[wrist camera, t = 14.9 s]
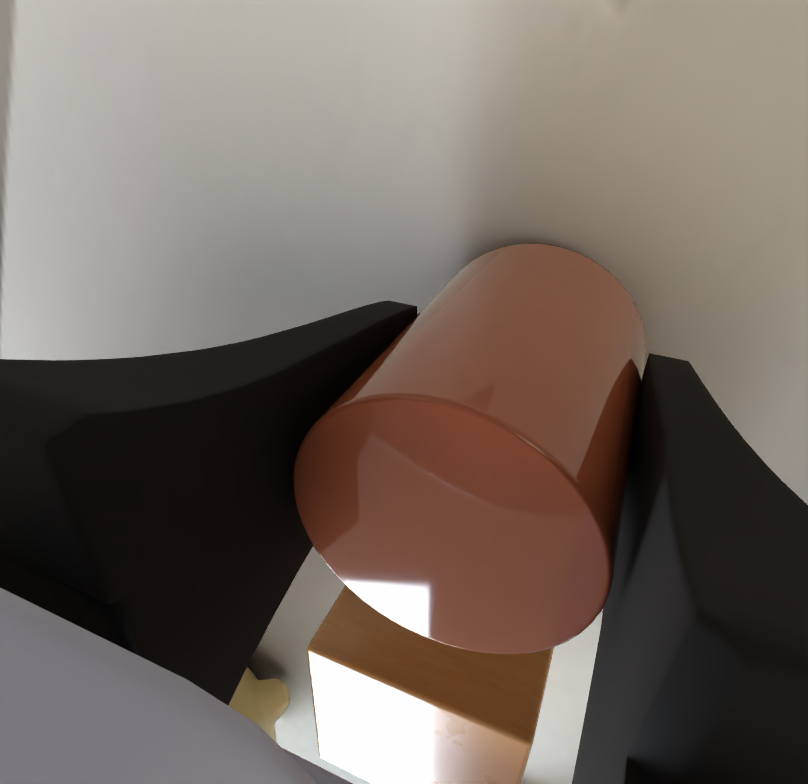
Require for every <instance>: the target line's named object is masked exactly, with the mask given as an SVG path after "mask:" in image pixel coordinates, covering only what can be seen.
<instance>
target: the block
mask: <svg viewBox="0 0 808 784" xmlns="http://www.w3.org/2000/svg"><path fill="white" fill-rule="evenodd" d="M553 650H554V647H552V648H549V649H545V650H541V651H537V652H532V653H524V654H490V653H480V652H475V651H469V650H464V649H460V648H456V647H453V646H449V645H445V644H442V643H440V642H437V641H434V640H431V639H428V638H426V637H424V636H421V635H419V634H417V633H415V632H412V631H410V630H408V629H406V628H405V627H403V626H401V625H399V624H397V623H395V622H393V621H392V620H390V619H389V618H387V617H385V616H384V615H382V614H381V613H379V612H378V611H376V610H375V609H374V608H372V607H371V606H369V605H368V604H367V603H365V602H364V601H363V600H362V599H360V598H359V597H358V596H357V595H356V594H355V593H353V592H352V591H351V590H350V589H349V588H348V587H347V586H346V585H345V587H344V588H343V590H342V592H341V593H340V595H339V597H338V598H337V600H336V601H335V603H334V605H333V606H332V608H331V609H330V611H329V613H328V614H327V616H326V617H325V619H324V621H323V622H322V624H321V625H320V627H319V629H318V630H317V632H316V634H315V635H314V637H313V638H312V640H311V642H310V643H309V645H308V647H307V653H308V662H309V670H310V679H311V687H312V696H313V704H314V713H315V721H316V730H317V738H318V747H319V755H320V757H321V758H322V759H324V760H326V761H328V762H330V763H332V764H334V765H336V766H338V767H340V768H342V769H344V770H346V771H348V772H350V773H352V774H354V775H356V776H358V777H360V778H362V779H364V780H366V781H368V782H370V783H372V784H521V781H522V777H523V774H524V771H525V767H526V764H527V760H528V757H529V754H530V750H531V747H532V744H533V739H534V735H535V730H536V726H537V721H538V717H539V712H540V708H541V703H542V699H543V694H544V690H545V686H546V681H547V677H548V672H549V668H550V663H551V659H552V654H553Z"/></svg>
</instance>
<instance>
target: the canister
mask: <svg viewBox="0 0 808 784" xmlns="http://www.w3.org/2000/svg"><path fill="white" fill-rule="evenodd" d="M645 348H646V343H645V333H644V328H643V324H642V321H641V317H640V315H639V312H638V310H637V308H636V306H635V303H634V302H633V300H632V299H631V297H630V295H629V294H628V292H627V291H626V290H625V288H624V287H623V286H622V285H621V284H620V282H619V281H618V280H617V279H616V278H615V277H614V276H613V275H611V274H610V273H609V272H608V271H607V270H606V269H604V268H603V267H602V266H600V265H599V264H597V263H596V262H594V261H593V260H591V259H589V258H587V257H585V256H583V255H581V254H579V253H576V252H574V251H571V250H568V249H565V248H561V247H557V246H552V245H545V244H517V245H511V246H506V247H502V248H499V249H496V250H492V251H490V252H488V253H486V254H484V255H481V256H479V257H478V258H476V259H475V260H473V261H472V262H470V263H468V264H467V265H466V266H465V267H464V268H463V269H461V270H460V271H459V272H458V273H457V274H456V275H455V276H454V277H453V278H452V279H451V280H450V281H449V282H448V283H447V285H446V286H445V287H444V288H443V289H442V290H441V291H440V292H439V293H438V294H437V295H436V296H435V297H434V298H433V299H432V300H431V301H430V302H429V303H428V304H427V306H426V307H425V308H424V309H423V310H422V311H421V312H420V313H419V314H418V315H417V316H416V317H415V318H414V319H413V320H412V321H411V322H410V323H409V324H408V325H407V326H406V328H405V329H404V330H403V331H402V332H401V333H400V334H399V335H398V336H397V337H396V338H395V339H394V340H393V341H392V342H391V343H390V344H389V345H388V346H387V347H386V349H385V350H384V351H383V352H382V353H381V354H380V355H379V356H378V357H377V358H376V359H375V360H374V361H373V362H372V363H371V364H370V365H369V366H368V367H367V368H366V369H365V371H364V372H363V373H362V374H361V375H360V376H359V377H358V378H357V379H356V380H355V381H354V382H353V383H352V384H351V385H350V386H349V387H348V388H347V389H346V390H345V392H344V393H343V394H342V395H341V396H340V397H339V398H338V399H337V400H336V401H335V402H334V403H333V404H332V405H331V406H330V407H329V408H328V409H327V410H326V411H325V412H324V414H323V415H322V416H321V417H320V418H319V419H318V420H317V421H316V422H315V423H314V424H313V426H312V427H311V428H310V429H309V431H308V432H307V433H306V435H305V437H304V439H303V441H302V442H301V444H300V447H299V450H298V453H297V456H296V459H295V465H294V473H293V491H294V497H295V502H296V507H297V510H298V513H299V516H300V519H301V522H302V524H303V526H304V529H305V531H306V533H307V535H308V537H309V539H310V540H311V542H312V544H313V546H314V547H315V549H316V551H317V552H318V553H319V555H320V556H321V558H322V559H323V560H324V562H325V563H326V564H327V566H328V567H329V568H330V569H331V570H332V571H333V573H334V574H335V575H336V576H337V577H338V578H339V579H340V580H341V581H342V582H343V583H344V584H345V585H346V586H347V587H348V588H349V589H350V590H351V591H352V592H353V593H355V594H356V595H357V596H358V597H359V598H360V599H362V600H363V601H364V602H365V603H367V604H368V605H369V606H371V607H372V608H374V609H375V610H376V611H378V612H379V613H381V614H382V615H384V616H385V617H387V618H389V619H390V620H392V621H393V622H395V623H397V624H399V625H401V626H403V627H405V628H406V629H408V630H410V631H412V632H415V633H417V634H419V635H421V636H424V637H426V638H428V639H431V640H434V641H437V642H440V643H442V644H445V645H449V646H453V647H456V648H460V649H464V650H469V651H475V652H480V653H490V654H524V653H532V652H537V651H541V650H545V649H549V648H552V647H555V646H557V645H560V644H562V643H565V642H567V641H569V640H570V639H572V638H573V637H575V636H577V635H578V634H580V633H581V632H582V631H583V630H584V629H586V628H587V627H588V626H589V625H590V624H591V623H592V622H593V621H594V619H595V618H596V617H597V615H598V614H599V613H600V612H601V610H602V609H603V607H604V605H605V603H606V601H607V598H608V596H609V594H610V590H611V586H612V581H613V577H614V570H615V563H616V556H617V549H618V542H619V535H620V528H621V521H622V514H623V507H624V500H625V493H626V486H627V479H628V472H629V465H630V459H631V452H632V445H633V438H634V431H635V421H636V412H637V405H638V398H639V391H640V384H641V380H642V375H643V368H644V361H645Z"/></svg>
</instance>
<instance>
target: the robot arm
mask: <svg viewBox="0 0 808 784" xmlns="http://www.w3.org/2000/svg"><path fill="white" fill-rule="evenodd" d="M416 316H417V306H412V305H407V304H402V303H397V302H392V301H383V302H378V303H374V304H370V305H366V306H363V307H359V308H356V309H353V310H350V311H347V312H343V313H340V314H337V315H334V316H331V317H328V318H325V319H322V320H319V321H315V322H312V323H309V324H306V325H302V326H299V327H295V328H292V329H288V330H285V331H281V332H278V333H274V334H271V335H267V336H263V337H260V338H256V339H251V340H247V341H243V342H238V343H234V344H228V345H223V346H218V347H212V348H207V349H201V350H195V351H186V352H178V353H170V354H161V355H153V356H144V357H133V358H117V359H98V360H58V361H52V360H3V359H0V784H352V783H350V782H348V781H346V780H344V779H342V778H340V777H338V776H336V775H334V774H332V773H330V772H329V771H327V770H325V769H323V768H321V767H319V766H317V765H315V764H313V763H311V762H309V761H307V760H305V759H303V758H301V757H299V756H297V755H295V754H293V753H291V752H289V751H287V750H285V749H283V748H281V747H280V746H279V745H278V744H277V743H276V742H275V741H274V740H273V739H272V738H271V737H270V736H269V735H268V734H267V733H266V732H265V731H264V730H263V729H262V728H261V727H260V726H259V725H257V724H256V723H254V722H253V721H251V720H249V719H248V718H246V717H245V716H243V715H242V714H240V713H239V712H237V711H235V710H234V709H232V708H231V707H229V706H228V705H229V703H230V701H231V699H232V697H233V695H234V693H235V691H236V689H237V687H238V685H239V683H240V680H241V678H242V676H243V674H244V672H245V670H246V668H247V666H248V664H249V662H250V660H251V658H252V656H253V654H254V652H255V650H256V649H257V647H258V645H259V643H260V641H261V639H262V637H263V635H264V633H265V631H266V629H267V627H268V625H269V623H270V621H271V620H272V618H273V616H274V614H275V612H276V610H277V608H278V606H279V605H280V603H281V601H282V599H283V597H284V596H285V594H286V592H287V590H288V588H289V587H290V585H291V583H292V581H293V579H294V578H295V576H296V574H297V572H298V570H299V569H300V567H301V565H302V564H303V562H304V560H305V558H306V557H307V555H308V553H309V552H310V550H311V548H312V547H313V544H312V542H311V540H310V539H309V537H308V535H307V533H306V531H305V529H304V526H303V524H302V522H301V519H300V516H299V513H298V510H297V507H296V502H295V497H294V491H293V473H294V465H295V459H296V456H297V453H298V450H299V447H300V444H301V442H302V441H303V439H304V437H305V435H306V433H307V432H308V431H309V429H310V428H311V427H312V426H313V424H314V423H315V422H316V421H317V420H318V419H319V418H320V417H321V416H322V415H323V414H324V412H325V411H326V410H327V409H328V408H329V407H330V406H331V405H332V404H333V403H334V402H335V401H336V400H337V399H338V398H339V397H340V396H341V395H342V394H343V393H344V392H345V390H346V389H347V388H348V387H349V386H350V385H351V384H352V383H353V382H354V381H355V380H356V379H357V378H358V377H359V376H360V375H361V374H362V373H363V372H364V371H365V369H366V368H367V367H368V366H369V365H370V364H371V363H372V362H373V361H374V360H375V359H376V358H377V357H378V356H379V355H380V354H381V353H382V352H383V351H384V350H385V349H386V347H387V346H388V345H389V344H390V343H391V342H392V341H393V340H394V339H395V338H396V337H397V336H398V335H399V334H400V333H401V332H402V331H403V330H404V329H405V328H406V326H407V325H408V324H409V323H410V322H411V321H412V320H413V319H414V318H415V317H416ZM572 784H808V505H807V504H806V503H805V502H804V501H803V500H802V499H800V498H799V497H798V496H797V495H796V494H795V493H794V492H793V491H792V490H791V489H790V488H789V487H788V486H787V485H786V484H785V483H783V482H782V481H781V480H780V479H779V478H778V476H777V475H776V474H775V473H774V472H773V471H772V470H771V469H770V468H769V467H768V466H767V465H766V464H765V463H764V462H763V461H762V459H761V458H760V457H759V456H758V455H757V454H756V453H755V451H754V450H753V449H752V448H751V447H750V446H749V445H748V443H747V442H746V441H745V440H744V439H743V437H742V436H741V435H740V434H739V433H738V431H737V430H736V429H735V428H734V426H733V425H732V424H731V422H730V421H729V420H728V418H727V417H726V416H725V414H724V413H723V412H722V410H721V409H720V408H719V406H718V405H717V403H716V402H715V401H714V399H713V398H712V396H711V395H710V393H709V392H708V390H707V389H706V387H705V386H704V384H703V383H702V381H701V380H700V378H699V376H698V375H697V373H696V372H695V370H694V369H693V367H692V366H691V364H690V363H689V361H685V360H680V359H675V358H670V357H665V356H660V355H655V354H650V353H649V356H648V359H647V363H646V366H645V369H644V373H643V376H642V380H641V384H640V391H639V398H638V405H637V412H636V421H635V431H634V438H633V445H632V452H631V459H630V465H629V472H628V479H627V486H626V493H625V500H624V507H623V514H622V521H621V528H620V535H619V542H618V549H617V556H616V563H615V570H614V577H613V581H612V586H611V590H610V594H609V596H608V598H607V601H606V603H605V605H604V607H603V616H602V625H601V631H600V636H599V642H598V648H597V653H596V659H595V664H594V670H593V675H592V681H591V686H590V692H589V697H588V702H587V708H586V713H585V719H584V724H583V729H582V735H581V740H580V745H579V750H578V755H577V761H576V766H575V771H574V776H573V781H572Z"/></svg>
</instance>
